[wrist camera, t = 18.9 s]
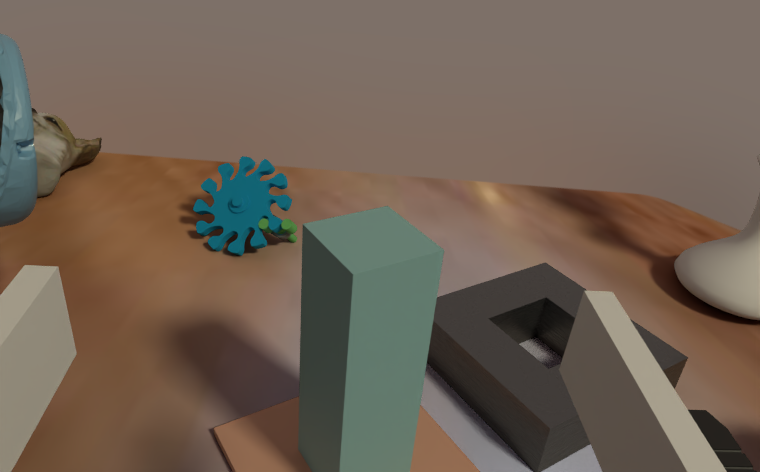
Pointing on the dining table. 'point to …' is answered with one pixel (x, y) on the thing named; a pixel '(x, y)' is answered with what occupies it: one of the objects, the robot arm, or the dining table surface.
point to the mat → (285, 462)
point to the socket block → (520, 359)
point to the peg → (364, 339)
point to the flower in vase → (726, 270)
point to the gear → (245, 207)
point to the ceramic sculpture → (58, 150)
